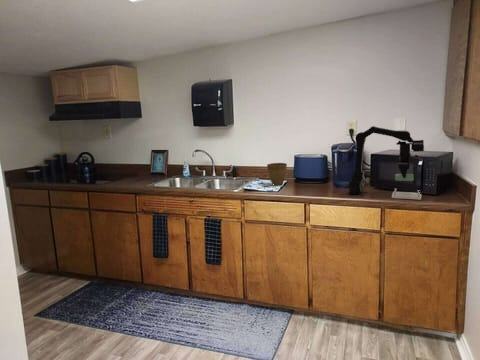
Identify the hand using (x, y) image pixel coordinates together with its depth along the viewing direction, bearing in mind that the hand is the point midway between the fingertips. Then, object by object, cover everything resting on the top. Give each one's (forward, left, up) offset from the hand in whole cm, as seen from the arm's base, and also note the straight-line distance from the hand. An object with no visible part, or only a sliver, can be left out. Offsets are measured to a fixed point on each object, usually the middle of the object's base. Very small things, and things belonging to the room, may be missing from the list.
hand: (404, 177), depth 217 cm
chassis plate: (+2, 0, -12) cm, 12 cm away
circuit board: (0, 0, -2) cm, 2 cm away
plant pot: (-88, +14, -12) cm, 90 cm away
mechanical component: (-25, +6, -12) cm, 29 cm away
